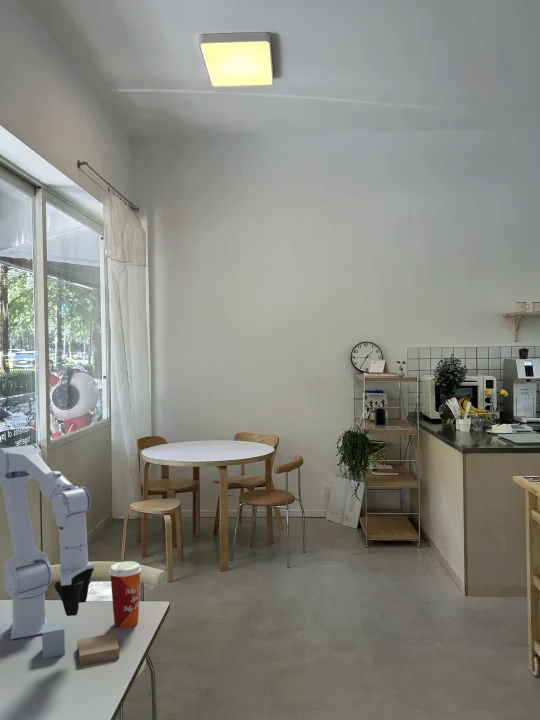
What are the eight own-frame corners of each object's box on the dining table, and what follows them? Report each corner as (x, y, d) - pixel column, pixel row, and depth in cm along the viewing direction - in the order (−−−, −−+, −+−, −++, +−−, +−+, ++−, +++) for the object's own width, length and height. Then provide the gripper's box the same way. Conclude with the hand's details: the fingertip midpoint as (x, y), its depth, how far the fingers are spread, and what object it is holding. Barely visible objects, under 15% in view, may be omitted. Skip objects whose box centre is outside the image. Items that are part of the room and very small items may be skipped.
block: (42, 649, 131) (41, 624, 131) (63, 645, 132) (63, 621, 133) (42, 658, 127) (42, 633, 127) (64, 654, 128) (64, 629, 128)
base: (77, 648, 130) (77, 639, 131) (114, 641, 134) (114, 632, 134) (80, 665, 123) (80, 655, 123) (119, 657, 126) (119, 648, 126)
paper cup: (134, 631, 139) (133, 571, 139) (104, 629, 140) (103, 570, 140) (147, 617, 146) (146, 560, 147) (119, 615, 148) (118, 559, 148)
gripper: (83, 552, 121) (87, 619, 120) (99, 535, 135) (102, 595, 135) (48, 555, 120) (52, 622, 120) (68, 537, 135) (71, 598, 134)
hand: (76, 608), depth 127 cm, fingers open, 7 cm apart
